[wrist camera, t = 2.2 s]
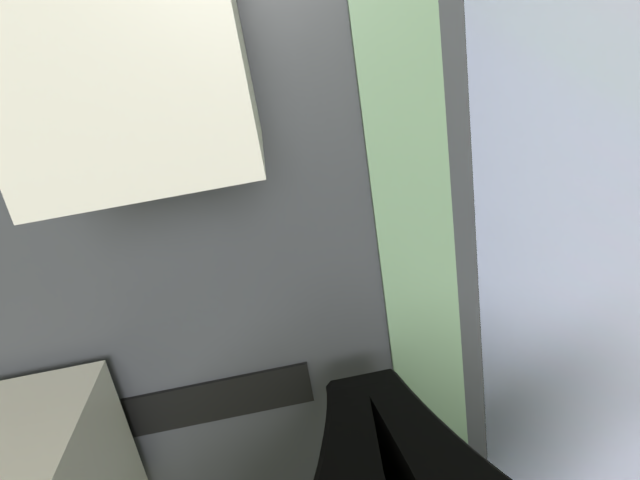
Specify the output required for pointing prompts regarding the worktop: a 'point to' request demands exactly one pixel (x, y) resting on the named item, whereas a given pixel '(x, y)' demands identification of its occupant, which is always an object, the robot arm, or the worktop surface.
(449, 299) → the switch panel
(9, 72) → the outer switch
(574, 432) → the worktop surface
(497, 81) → the worktop surface
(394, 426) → the robot arm
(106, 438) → the middle switch
